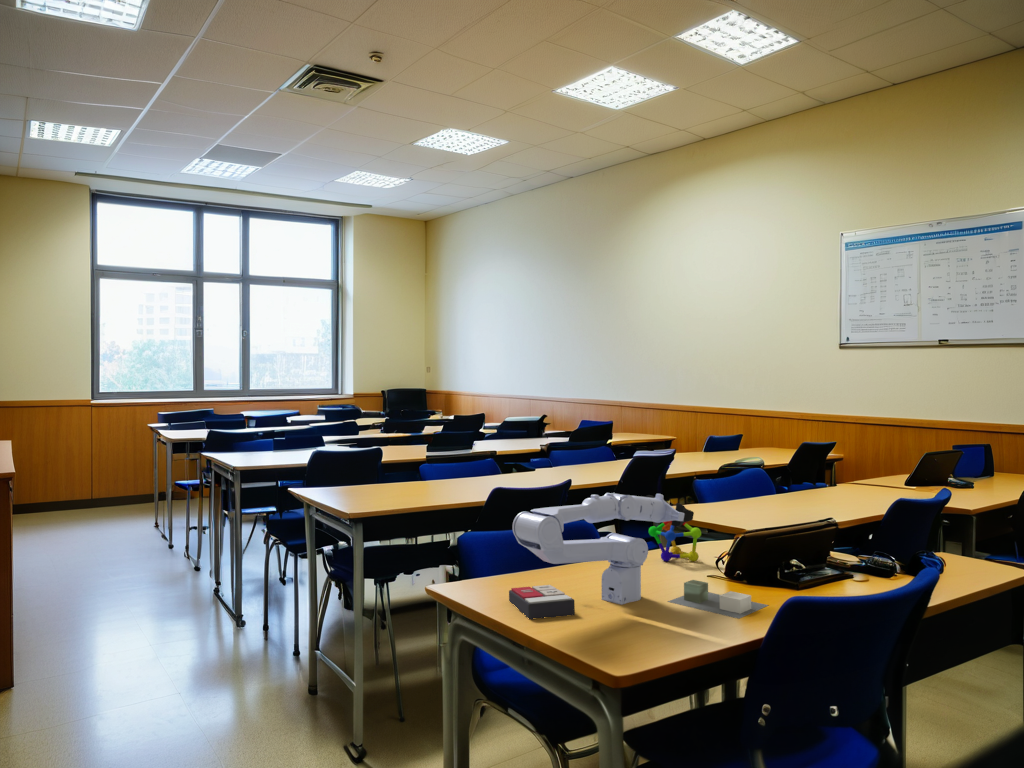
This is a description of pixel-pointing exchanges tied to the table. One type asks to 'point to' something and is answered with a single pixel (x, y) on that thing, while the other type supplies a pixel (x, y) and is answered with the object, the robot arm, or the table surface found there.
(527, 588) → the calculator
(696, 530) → the educational toy
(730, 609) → the base brick
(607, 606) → the table surface
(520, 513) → the robot arm
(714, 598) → the base mat
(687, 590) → the green cube
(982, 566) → the table surface
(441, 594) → the table surface
